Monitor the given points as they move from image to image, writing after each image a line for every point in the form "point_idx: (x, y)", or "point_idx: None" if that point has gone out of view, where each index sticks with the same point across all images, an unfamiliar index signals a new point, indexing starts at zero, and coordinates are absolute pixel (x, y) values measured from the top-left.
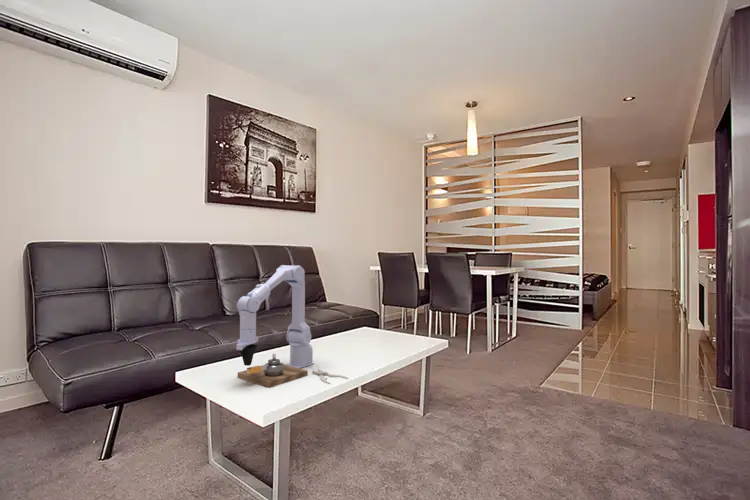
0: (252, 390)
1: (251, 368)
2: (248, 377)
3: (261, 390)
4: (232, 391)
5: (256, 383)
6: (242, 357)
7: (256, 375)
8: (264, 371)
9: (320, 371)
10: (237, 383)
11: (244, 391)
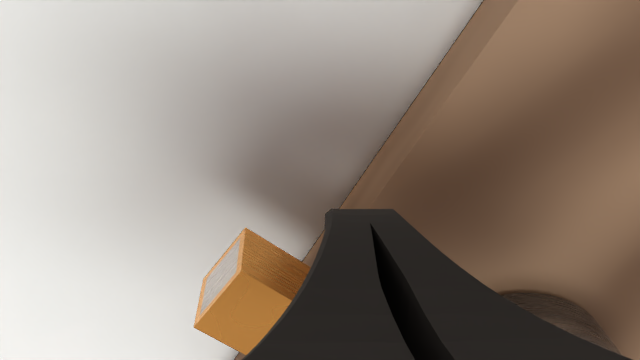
0: (109, 276)
1: (234, 344)
2: (414, 130)
3: (135, 349)
4: (5, 89)
5: (322, 236)
6: (305, 281)
7: (444, 224)
8: None
9: None
10: (305, 13)
11: (54, 216)
